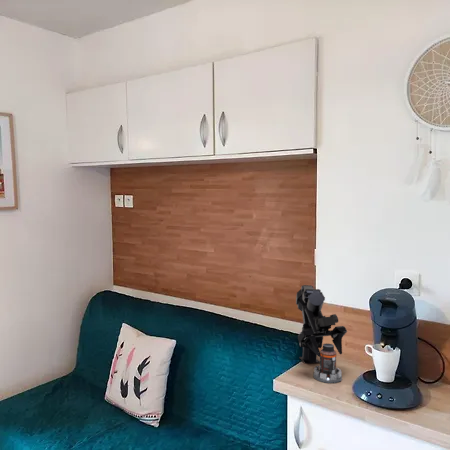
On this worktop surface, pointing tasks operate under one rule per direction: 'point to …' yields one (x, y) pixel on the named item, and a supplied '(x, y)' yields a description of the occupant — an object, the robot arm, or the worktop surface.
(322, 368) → the supplement bottle
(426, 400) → the worktop surface
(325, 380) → the ring collar
